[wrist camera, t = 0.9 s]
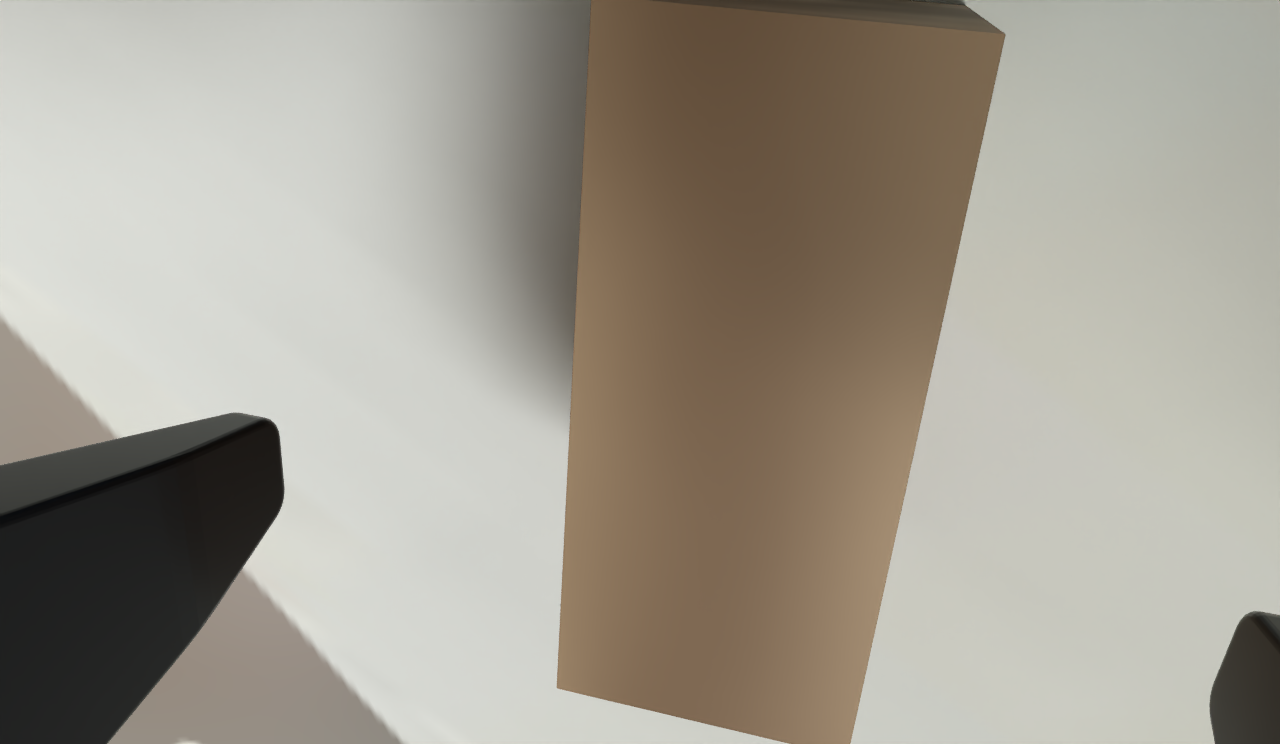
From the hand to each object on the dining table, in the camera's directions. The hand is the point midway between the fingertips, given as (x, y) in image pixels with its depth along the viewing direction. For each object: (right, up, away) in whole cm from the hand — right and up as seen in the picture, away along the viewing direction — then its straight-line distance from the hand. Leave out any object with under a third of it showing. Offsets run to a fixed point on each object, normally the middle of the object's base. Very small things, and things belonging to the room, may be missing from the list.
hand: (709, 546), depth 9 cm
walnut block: (+2, +3, +8) cm, 9 cm away
